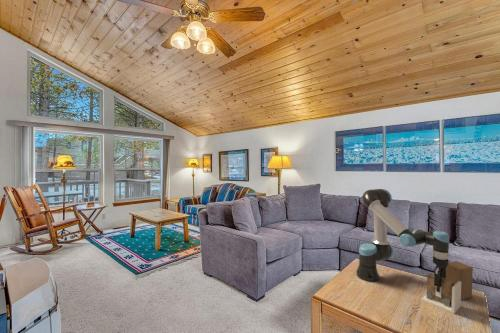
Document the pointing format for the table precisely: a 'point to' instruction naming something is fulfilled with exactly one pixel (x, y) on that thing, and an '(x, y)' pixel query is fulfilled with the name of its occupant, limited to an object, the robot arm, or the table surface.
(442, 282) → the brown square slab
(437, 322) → the table surface
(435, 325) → the table surface
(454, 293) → the l-bracket with handles
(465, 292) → the wooden block
